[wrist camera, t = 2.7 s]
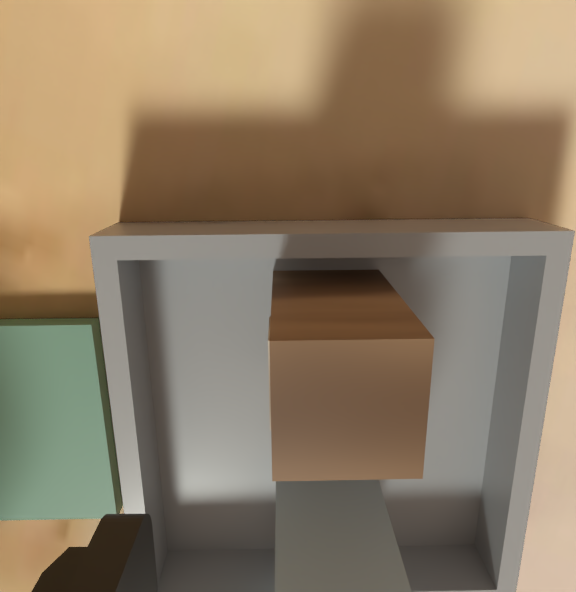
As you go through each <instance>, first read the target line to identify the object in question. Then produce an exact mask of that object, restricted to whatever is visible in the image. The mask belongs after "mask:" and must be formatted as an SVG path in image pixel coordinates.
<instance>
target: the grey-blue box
mask: <svg viewBox="0 0 576 592" xmlns="http://www.w3.org/2000/svg"><path fill="white" fill-rule="evenodd" d="M275 592H411V588H410V585H409V581H408V578H407V575H406V571H405V568H404V565H403V561H402V558H401V555H400V551H399V548H398V544H397V541H396V538H395V534H394V531H393V528H392V524H391V521H390V517H389V514H388V511H387V507H386V504H385V501H384V497H383V494H382V490H381V487H380V484H379V480H326V481H276V520H275Z"/></svg>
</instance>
